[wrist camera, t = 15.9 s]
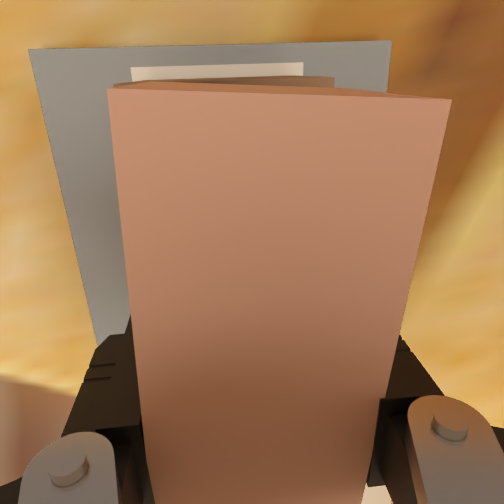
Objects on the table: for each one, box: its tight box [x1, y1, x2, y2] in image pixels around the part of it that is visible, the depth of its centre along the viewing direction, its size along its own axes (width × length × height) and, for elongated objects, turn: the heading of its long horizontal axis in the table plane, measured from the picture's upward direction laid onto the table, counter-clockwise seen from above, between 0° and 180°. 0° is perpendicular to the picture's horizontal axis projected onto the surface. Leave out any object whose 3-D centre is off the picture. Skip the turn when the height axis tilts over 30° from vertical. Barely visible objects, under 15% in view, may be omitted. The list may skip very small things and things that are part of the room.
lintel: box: [107, 81, 452, 504], centre depth 9 cm, size 12×4×4 cm, turn 178°
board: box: [28, 40, 392, 346], centre depth 17 cm, size 12×15×1 cm
